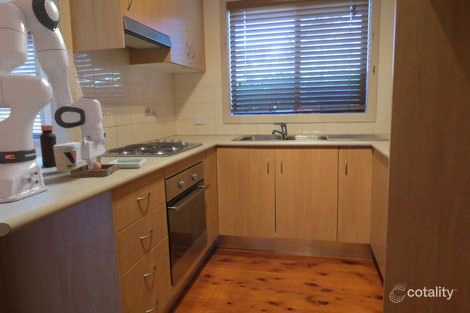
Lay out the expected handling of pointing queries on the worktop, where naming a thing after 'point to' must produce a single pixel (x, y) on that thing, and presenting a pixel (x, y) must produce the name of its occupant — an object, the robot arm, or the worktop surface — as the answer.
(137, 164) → the tray
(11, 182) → the robot arm
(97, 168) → the ball
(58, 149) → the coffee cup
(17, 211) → the worktop surface
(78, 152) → the small box
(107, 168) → the brown wooden tray
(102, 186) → the worktop surface
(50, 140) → the bottle
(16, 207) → the worktop surface
